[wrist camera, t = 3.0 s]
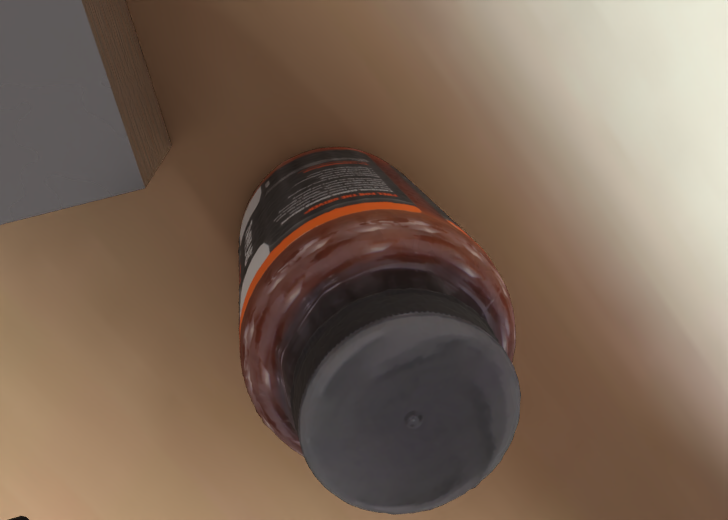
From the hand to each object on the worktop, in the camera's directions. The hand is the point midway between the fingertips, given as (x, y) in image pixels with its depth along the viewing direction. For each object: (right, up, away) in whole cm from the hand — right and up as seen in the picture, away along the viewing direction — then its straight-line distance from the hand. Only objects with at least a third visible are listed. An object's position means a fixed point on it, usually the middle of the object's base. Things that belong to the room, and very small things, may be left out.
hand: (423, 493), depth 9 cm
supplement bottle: (-2, +4, +14) cm, 14 cm away
